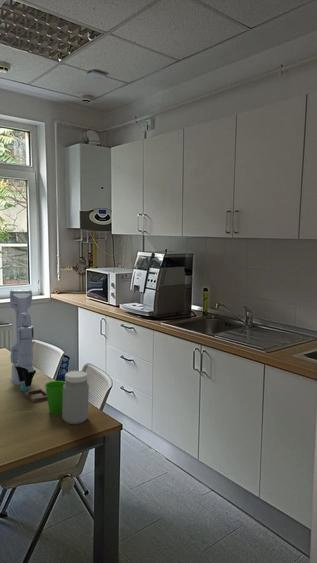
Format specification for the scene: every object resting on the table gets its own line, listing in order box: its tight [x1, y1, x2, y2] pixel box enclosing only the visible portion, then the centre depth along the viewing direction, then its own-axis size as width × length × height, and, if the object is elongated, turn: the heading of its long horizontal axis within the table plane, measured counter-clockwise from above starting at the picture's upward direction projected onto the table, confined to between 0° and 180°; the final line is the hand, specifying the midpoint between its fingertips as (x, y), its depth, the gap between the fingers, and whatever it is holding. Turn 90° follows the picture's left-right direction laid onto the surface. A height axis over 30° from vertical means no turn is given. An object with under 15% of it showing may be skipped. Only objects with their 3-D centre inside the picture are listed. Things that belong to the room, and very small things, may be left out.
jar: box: [61, 370, 90, 425], centre depth 157 cm, size 10×10×18 cm
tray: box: [23, 388, 48, 404], centre depth 177 cm, size 10×8×2 cm
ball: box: [20, 383, 31, 392], centre depth 182 cm, size 4×4×4 cm
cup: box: [44, 380, 65, 415], centre depth 164 cm, size 9×9×11 cm
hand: (25, 383), depth 182 cm, fingers open, 7 cm apart
